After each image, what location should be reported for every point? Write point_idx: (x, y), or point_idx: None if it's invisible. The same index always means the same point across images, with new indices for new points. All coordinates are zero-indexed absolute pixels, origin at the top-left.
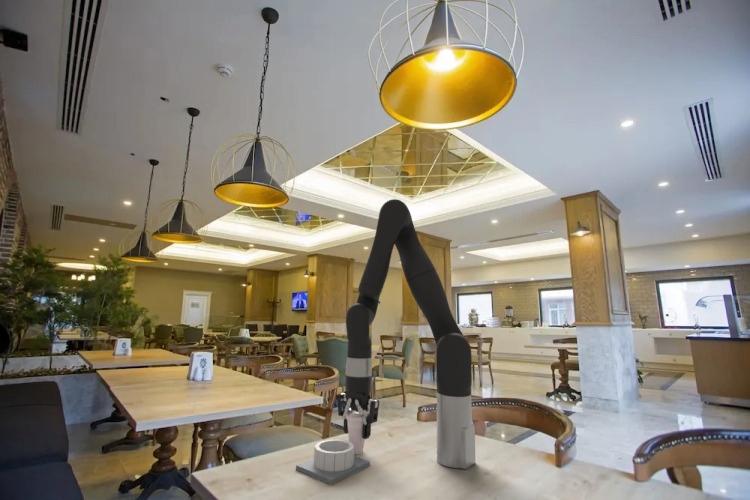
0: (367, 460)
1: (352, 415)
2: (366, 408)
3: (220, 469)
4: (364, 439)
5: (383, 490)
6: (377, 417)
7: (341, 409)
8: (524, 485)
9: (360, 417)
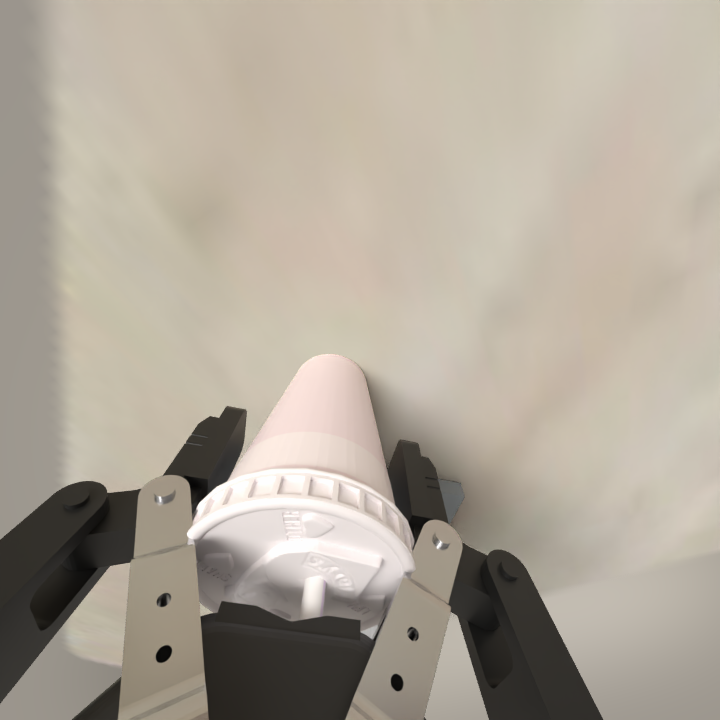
0: (450, 493)
1: (265, 599)
2: (398, 661)
3: (85, 633)
4: (373, 413)
5: (551, 582)
6: (541, 602)
7: (73, 602)
8: None
9: (367, 614)
